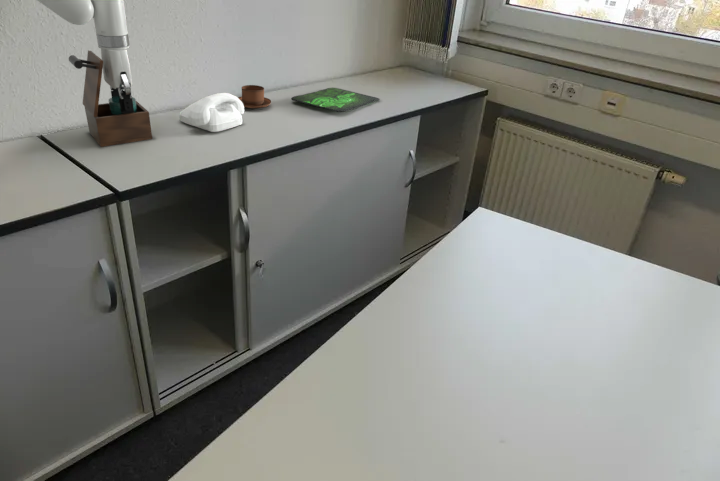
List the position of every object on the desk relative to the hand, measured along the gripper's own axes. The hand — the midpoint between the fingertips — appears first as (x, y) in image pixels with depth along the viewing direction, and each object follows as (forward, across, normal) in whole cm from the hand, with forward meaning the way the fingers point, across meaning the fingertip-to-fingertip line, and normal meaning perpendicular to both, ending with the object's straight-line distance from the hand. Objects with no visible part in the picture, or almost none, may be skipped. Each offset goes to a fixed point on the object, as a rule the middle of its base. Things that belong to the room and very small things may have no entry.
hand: (123, 108), depth 148 cm
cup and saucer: (+7, -9, +44) cm, 45 cm away
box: (+8, 0, -2) cm, 8 cm away
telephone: (+7, +1, +25) cm, 26 cm away
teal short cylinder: (+1, 0, 0) cm, 1 cm away
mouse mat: (+7, -2, +73) cm, 73 cm away
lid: (-7, 0, -6) cm, 10 cm away
